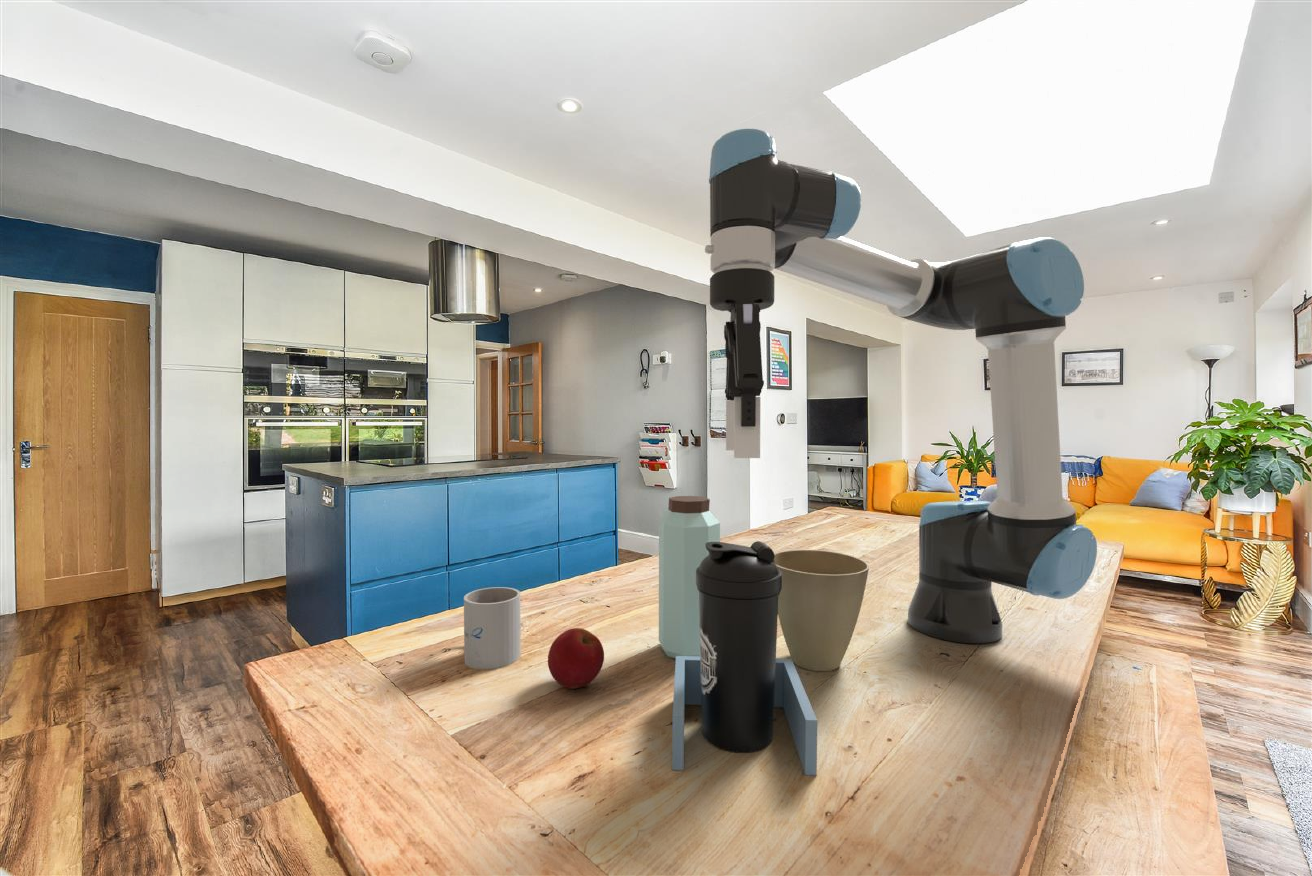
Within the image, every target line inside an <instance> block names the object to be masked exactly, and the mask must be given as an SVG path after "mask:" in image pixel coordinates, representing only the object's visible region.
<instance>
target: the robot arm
mask: <svg viewBox="0 0 1312 876" xmlns="http://www.w3.org/2000/svg"><path fill="white" fill-rule="evenodd" d="M777 153H778V152H777V150H776V142H775V138H774V137H773V136H772V135H770V134H769V133H768V132H766V131H765V130H762V129H757V128H740V129H735V130H732V131H729V132H726V133H725V134H723V135H722V136H721V137H720V138H719V139H717V140H716V141H715V142H714V143H713V146H712V147H711V155H710V167H709V178H708V184H709V223H710V224H709V225H710V226H709V227H710V228H709V231H710V232H709V233H710V236H709V237H710V244H707V245H706V246H705V247H704V252H705V253H706V254H707V255H710V257H709V258H710V272H712V273H713V274H712V276H711V277H710V278H709V304H710V307H711V308H713V310H716V311H720V312H726V311H727V312H728V313H730V320H729V321H725V325H723V326H724V327H723V338H724V340H725V341H724V342H725V344H724V345H725V347H724V352H725V358H726V367H725V368H726V371H725V372H726V373H725V376H726V377H725V389H724V394H725V398H726V400H725V451H733V459H761V393H762V391H763V387H764V386H765V382H764V381H765V380H764V379H763V378H764V377H763V376H764V375H763V363H762V362H763V361H762V347H761V346H762V345H761V344H762V343H761V325H762V324H761V321H760V312H761V311H762V310H766V309H769V308H770V307H772V306H773V305H774V303H775V275H774V273H772V271H773V270H774V269H775V270H778V271H781V272H783V273H787V274H789V275H793V276H796V277H799V278H801V279H805V280H808V281H811V282H813V283H817V284H819V285H823V286H826V287H829V288H832V289H835V290H838V291H841V292H844V293H847V294H850V295H853V296H856V297H859V298H862V299H865V300H867V301H870V302H873V303H877V304H880V305H883V306H886V307H887V310H888V311H889V313H891V314H892V315H893V316H897V317H899V318H903V319H904V320H907V321H911V322H916V323H919V324H923V325H925V326H929V327H934V328H939V329H946V330H952V331H966V330H975V339H976V340H975V341H977V342H978V343H980V344H981V345H983V346H984V347H985V348H986V349H987V356H988V373H989V389H990V390H989V391H990V401H991V403H990V404H991V416H992V417H991V418H992V432H993V433H992V435H993V447H994V448H993V449H994V463H995V464H994V465H995V467H994V468H995V479H996V482H995V483H996V494H997V495H996V499H994V500H993V501H992V502H991V501H987V500H955V501H954V500H953V501H936V502H930V503H926V504H925V505H923V506H922V508H921V510H920V516H919V517H920V518H919V519H920V520H919V524H918V529H919V531H918V532H919V535H918V536H919V539H918V540H919V541H918V542H919V543H918V545H919V547H918V548H919V549H918V554H919V555H918V561H919V562H918V563H919V565H918V570H919V571H918V583H917V586H916V588H915V591H914V594H913V595H912V598H911V601H910V603H909V607H908V610H907V622H908V624H909V626H910V627H911V628H913V629H914V630H916V631H918V632H920V633H921V634H925V635H926V636H930V637H933V638H936V639H940V640H945V641H948V642H949V641H950V642H956V643H962V644H963V643H964V644H988V643H994V642H998V641H999V640H1000V639H1001V638H1002V637H1003V622H1002V619H1001V615H1000V612H999V609H998V606H997V604H996V601H995V597H994V595H993V591H992V583H995V584H997V585H1002V586H1005V587H1007V588H1011V589H1015V590H1019V591H1022V592H1025V593H1028V594H1030V595H1032V596H1041V597H1046V598H1050V599H1055V600H1064V599H1068V598H1070V597H1072V596H1075V595H1076V594H1078V592H1080V591H1081V590H1082V589H1083V587H1084V586H1085V585H1086V583H1087V582H1088V580H1089V579H1090V577H1091V575H1092V573H1093V571H1094V569H1095V565H1096V561H1097V555H1098V554H1097V553H1098V543H1097V539H1096V536H1095V535H1094V533H1093V531H1092V530H1091V529H1090V528H1088V527H1086V526H1084V525H1082V524H1078V523H1077V513H1076V512H1077V511H1076V508H1075V507H1074V506H1073V505H1072V504H1071V503H1069V502H1068V501H1067V500H1066V499H1065V498H1064V496H1063V479H1062V462H1061V461H1062V460H1061V444H1060V443H1061V442H1060V427H1059V425H1060V424H1059V407H1058V403H1059V402H1058V389H1057V388H1058V387H1057V371H1056V370H1057V369H1056V353H1055V351H1056V350H1055V341H1056V339H1057V338H1058V337H1059V336H1060V335H1061V334H1062V333H1063V332H1064V331H1065V330H1066V329H1067V325H1066V323H1067V322H1066V321H1067V320H1066V316H1070V314H1072V313H1074V312H1075V311H1077V310H1078V308H1079V306H1080V305H1081V304H1082V299H1083V297H1084V292H1085V279H1084V274H1083V271H1082V268H1081V265H1080V262H1079V261H1078V259H1077V257H1076V255H1075V254H1074V252H1073V251H1071V250H1070V248H1069V247H1068V245H1066V244H1065V243H1064V242H1062V240H1061V241H1060V240H1059V239H1056V238H1053V237H1046V236H1045V237H1037V238H1034V239H1027V240H1021V241H1015V242H1013V243H1011V244H1008V245H1004V246H1001V247H997V248H994V249H990V250H988V251H984V252H981V253H977V254H974V255H971V256H967V257H963V258H959V259H955V260H951V261H945V262H930V261H927V260H925V259H921V258H914V259H911V260H905V259H903V258H899V257H897V256H895V255H892V254H889V253H888V252H887V253H886V252H884V251H881V250H879V249H876V248H874V247H871V246H868V245H865V244H862V243H860V242H857V241H855V240H853V239H849V238H846V237H845V235H847V234H848V233H849V232H850V231H851V230H852V228H853V227H854V226H855V224H856V222H857V221H858V219H859V216H860V211H861V208H862V205H861V204H862V203H861V201H862V194H861V190H860V187H859V186H858V183H856V181H855V180H854V179H852V178H850V177H848V176H844V175H841V174H838V173H836V172H834V171H832V170H830V171H829V170H823V169H819V168H818V169H817V168H812V167H809V166H802V165H797V164H793V163H788V162H787V161H784V160H780V159H779V160H778V159H777Z"/></svg>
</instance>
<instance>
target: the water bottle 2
mask: <svg viewBox="0 0 1312 876" xmlns="http://www.w3.org/2000/svg"><path fill="white" fill-rule="evenodd" d="M706 549H707V551H708V552H709V555H708V556H707V557H705V558H704V559H703V561H702V562H701V564H700V566H699V567H698V568H697V569H696V586H697V590H698V591H699V614H700V624H699V632H700V658H701V659H700V662H701V663H700V672H701V697H702V705H701V726H702V727H701V730H702V731H701V732H702V735H703V737H704V739H705V740H706V741H707V742H708V743H709V744H710V745H712V746H713V747H714V748H715V747H716V748H718V749H721V750H723V751H727V752H730V753H731V752H732V753H736V754H737V753H738V754H739V753H741V754H742V753H743V754H746V753H754V752H758V751H761V750H763V749H765V748H767V747H768V746H769V745H770V744H771V743H772V741H773V737H774V717H775V715H774V714H775V712H774V711H775V707H774V693H775V668H776V658H777V643H778V642H777V638H778V619H779V617H778V595H779V594H780V592H781V589H782V573H781V571H780V570H778V567H777V565H776V564H775V562H774V557H775V555H774V554H775V552H774V550H773V549H772V548H771V547H770V546H768V545H767V544H766V543H765V542H763V541H759V540H756V541H754V542H753V543H752V544H751V545H750V546H748V545H747V546H746V545H741V544H736V543H729V542H723V541H720V542H708V543H706Z"/></svg>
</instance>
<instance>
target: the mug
mask: <svg viewBox="0 0 1312 876" xmlns="http://www.w3.org/2000/svg"><path fill="white" fill-rule="evenodd" d="M521 620H522V619H521V592H520V590H519V589H516V588H514V587H505V586H504V587H503V586H501V587H500V586H498V587H497V586H496V587H495V586H494V587H485V588H480V589H475V590H473V591H470V592H468V593H467V594H465V595H464V596H463V630H464V631H463V637H464V639H463V642H464V643H463V647H464V649H463V650H464V660H463V661H464V664H465V665H466V667H467V666H468V668H471V669H475V670H496V669H501V668H505V667H508V666H510V665H512V664H515V663H516V662H518V660H519V659H520V658H521V656H522V649H521V648H522V647H521V646H522V645H521V644H522V642H521V641H522V639H521V637H522V636H521V635H522V633H521V632H522V631H521Z"/></svg>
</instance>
